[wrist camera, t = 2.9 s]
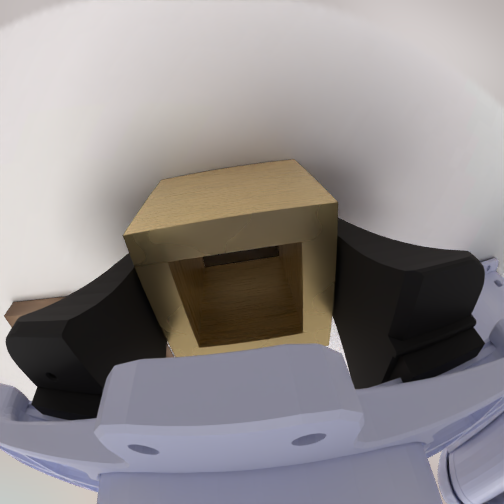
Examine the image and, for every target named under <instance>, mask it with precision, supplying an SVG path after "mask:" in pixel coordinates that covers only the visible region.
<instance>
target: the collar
mask: <svg viewBox="0 0 504 504" xmlns="http://www.w3.org/2000/svg"><path fill="white" fill-rule="evenodd" d="M337 227H338V202H337V201H336V200H335V199H334V198H333V197H332V196H331V195H330V194H329V193H328V192H327V190H326V189H325V188H324V187H323V186H321V185H320V184H319V183H318V182H317V181H316V180H315V179H314V178H313V177H312V176H311V175H310V174H309V173H308V172H307V171H306V170H305V169H304V168H303V167H302V166H301V165H300V164H299V163H298V162H297V161H295V160H294V159H292V160H282V161H273V162H265V163H257V164H250V165H243V166H236V167H230V168H223V169H217V170H211V171H205V172H200V173H194V174H189V175H184V176H179V177H174V178H169V179H164V180H161V181H160V182H159V184H158V185H157V186H156V188H155V189H154V191H153V192H152V193H151V195H150V196H149V198H148V199H147V200H146V202H145V203H144V205H143V206H142V207H141V209H140V210H139V212H138V213H137V215H136V216H135V218H134V219H133V221H132V222H131V224H130V225H129V227H128V228H127V230H126V231H125V233H124V234H123V237H124V240H125V243H126V246H127V248H128V251H129V254H130V256H131V259H132V262H133V264H134V267H135V269H136V272H137V274H138V277H139V279H140V281H141V284H142V286H143V289H144V291H145V293H146V296H147V298H148V300H149V302H150V305H151V307H152V309H153V311H154V314H155V316H156V318H157V320H158V322H159V324H160V326H161V328H162V331H163V333H164V335H165V337H166V339H167V341H168V343H169V345H170V347H171V349H172V351H173V353H174V354H175V356H176V357H185V356H197V355H207V354H217V353H226V352H234V351H242V350H249V349H257V348H263V347H270V346H276V345H282V344H313V343H316V344H321V345H324V346H328V345H329V339H330V331H331V321H332V311H333V300H334V287H335V272H336V254H337ZM277 245H278V246H279V256H276V257H270V258H263V259H257V260H250V261H243V262H237V263H230V264H223V265H216V266H210V267H205V264H204V260H203V256H210V255H217V254H223V253H230V252H237V251H243V250H250V249H257V248H263V247H270V246H277Z"/></svg>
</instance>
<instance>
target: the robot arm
mask: <svg viewBox="0 0 504 504" xmlns="http://www.w3.org/2000/svg"><path fill="white" fill-rule="evenodd" d="M498 263H499V261H498V260H497V259H496V258H493V259H490V260H487V261H484V262H480V261H479V260H478V259H477V258H476V257H475V256H473V255H472V254H471V253H470V252H469V251H460V250H444V249H436V248H429V247H423V246H417V245H412V244H408V243H404V242H400V241H396V240H392V239H389V238H386V237H383V236H380V235H377V234H374V233H371V232H369V231H367V230H364V229H362V228H359V227H357V226H355V225H352V224H350V223H348V222H346V221H344V220H342V219H340V218H338V227H337V254H336V272H335V287H334V300H333V311H332V316H333V318H334V321H335V324H336V327H337V330H338V333H339V336H340V339H341V343H342V346H343V349H344V353H345V356H346V360H347V364H348V368H349V372H350V374H349V372H348V369H347V366H346V364H345V361H344V358H343V356H342V354H341V353H339V352H337V351H335V350H332V349H330V348H328V347H326V346H324V345H321V344H316V343H313V344H282V345H276V346H270V347H263V348H257V349H249V350H242V351H234V352H226V353H217V354H207V355H197V356H185V357H171V358H166V350H167V339H166V337H165V335H164V333H163V331H162V328H161V326H160V324H159V322H158V320H157V318H156V316H155V314H154V311H153V309H152V307H151V305H150V302H149V300H148V298H147V296H146V293H145V291H144V289H143V286H142V284H141V281H140V279H139V277H138V274H137V272H136V269H135V267H134V264H133V262H132V259H131V256H130V254H129V253H128V254H127V255H126V256H125V257H124V258H122V259H121V260H120V261H119V262H117V263H116V264H115V265H114V266H112V267H111V268H110V269H109V270H107V271H106V272H105V273H103V274H102V275H101V276H99V277H98V278H96V279H95V280H93V281H92V282H90V283H89V284H87V285H86V286H84V287H82V288H81V289H79V290H77V291H76V292H74V293H72V294H70V295H69V296H67V297H65V298H63V299H61V300H59V301H57V302H55V303H53V304H51V305H48V306H46V307H44V308H42V309H39V310H36V311H34V312H31V313H28V314H26V315H23V316H20V317H19V318H18V319H17V320H16V322H15V324H14V325H13V327H12V329H11V330H10V332H9V334H8V335H7V337H6V346H7V350H8V352H9V354H10V356H11V358H12V359H13V360H14V362H15V363H16V364H17V365H18V367H19V368H20V369H21V370H22V371H23V372H24V373H25V374H26V375H27V377H28V378H29V379H30V380H31V381H32V382H33V383H34V384H35V385H36V386H37V390H36V392H35V395H34V398H33V401H29V400H28V398H27V397H26V396H25V395H24V394H23V393H22V392H21V391H19V390H18V389H17V388H15V387H13V386H10V385H6V384H2V383H0V449H1V450H3V451H4V452H6V453H7V454H9V455H10V456H12V457H13V458H15V459H16V460H18V461H20V462H22V463H23V464H25V465H27V466H29V467H31V468H34V469H36V470H38V471H41V472H43V473H45V474H47V475H50V476H52V477H55V478H58V479H60V480H63V481H65V482H68V483H70V484H73V485H76V486H79V487H82V488H85V489H88V490H91V491H95V492H98V498H97V504H443V503H442V500H441V497H440V494H439V491H438V488H437V484H436V482H435V478H434V476H433V473H432V470H431V467H430V464H429V462H428V459H427V458H429V457H431V456H433V455H435V454H436V453H438V452H440V451H442V453H441V456H440V460H439V465H438V484H439V488H440V491H441V494H442V496H443V498H444V500H445V502H446V503H447V504H504V278H503V277H502V276H501V275H500V274H499V273H498V272H497V271H496V269H497V267H498ZM350 376H351V377H350Z"/></svg>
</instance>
